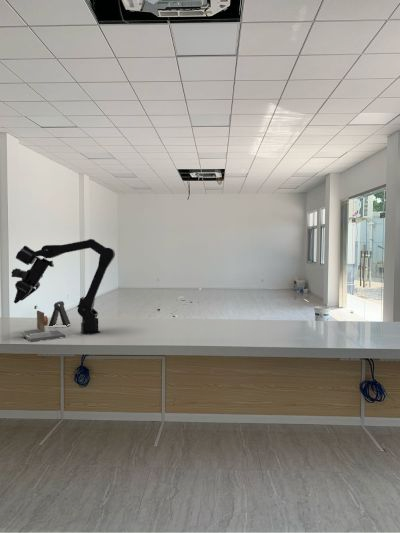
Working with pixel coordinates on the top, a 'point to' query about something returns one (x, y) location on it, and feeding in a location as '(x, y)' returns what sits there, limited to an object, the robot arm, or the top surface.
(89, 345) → the top surface
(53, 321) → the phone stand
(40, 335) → the press base
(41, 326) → the press plate
